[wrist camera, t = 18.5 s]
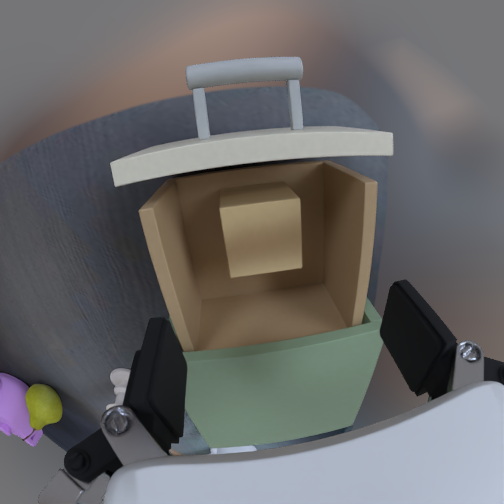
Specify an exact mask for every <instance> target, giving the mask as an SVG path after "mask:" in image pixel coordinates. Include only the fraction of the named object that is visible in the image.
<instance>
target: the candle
mask: <svg viewBox="0 0 504 504" xmlns="http://www.w3.org/2000/svg"><path fill="white" fill-rule="evenodd" d="M130 371H131V370H130V369H125V368H118V369H115V370H113V371H112V372H111V375H110V379H111V381H112V383H113V384H114V385H115V386H116V387H115V388H114V392H115V394H116V395H117V397H116V399H115V404H109V405H107V410H108V409H109V408H110V407H113V406H117V405H122V404H123V400H124V396H125V391H126V387H127V383H128V379H129V375H130Z"/></svg>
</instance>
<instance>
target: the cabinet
mask: <svg viewBox="0 0 504 504" xmlns="http://www.w3.org/2000/svg"><path fill="white" fill-rule="evenodd" d="M169 321H170V323H171V325H172V328H173V330H174V333H175V335H176V338H177V340H178V343H179V345H180V348H181V350H182V353H183V355H184V357H185V360H186V362H187V368H188V370H187V383H186V396H185V410H186V412H187V413H188V415H189V417H190V418H191V420H192V421H193V423H194V425H195V426H196V428H197V429H198V431H199V432H200V434H201V435H202V437H203V438H204V440H205V441H206V443H207V444H208V446H209V447H210V448H229V447H241V446H251V445H260V444H267V443H274V442H281V441H287V440H292V439H298V438H303V437H307V436H312V435H316V434H321V433H325V432H329V431H333V430H337V429H340V428H344V427H347V426H351V425H352V424H353V422H354V420H355V417H356V415H357V413H358V410H359V408H360V405H361V403H362V400H363V398H364V395H365V393H366V391H367V388H368V385H369V382H370V380H371V377H372V374H373V371H374V369H375V366H376V363H377V360H378V357H379V354H380V350H381V347H382V344H383V340H382V338H381V336H380V327H381V323H382V319H381V317H380V316H379V314H378V313H377V311H376V310H375V308H374V307H373V306H372V304H371V303H370V301H369V300H368V298H367V297H366V302H365V308H364V314H363V319H362V324H361V325H357V326H353V327H349V328H344V329H340V330H335V331H330V332H326V333H321V334H316V335H311V336H305V337H300V338H294V339H288V340H282V341H276V342H270V343H263V344H256V345H249V346H241V347H233V348H224V349H215V350H204V351H193V352H184V351H183V349H182V346H181V344H180V341H179V339H178V336H177V334H176V331H175V328H174V326H173V323H172V320H171V317H170V315H169Z"/></svg>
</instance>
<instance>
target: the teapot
mask: <svg viewBox="0 0 504 504" xmlns="http://www.w3.org/2000/svg"><path fill="white" fill-rule="evenodd" d="M28 389H29V387H28V386H27V385H26V384H25V383H24V382H22V381H21V380H19V379H17V378H15V377H13V376H11V375H9V374H6V373H0V430H1V431H2V432H4V433H5V434H7V435H9V436H10V435H11V433H13V434H15V435H17V436H19V437H22V438H23V439H24V438H26V437H27V436H29V435H30V434H31V433H32V431H33V428H32V427H31V426H30V423H29V411H28V408H27V405H26V401H25V395H26V393H27V391H28ZM42 434H43V432H42V429H41V430H39V431H36V430H35V431H34V432H33V434H32V435H31V436H30V437H29V438H27V439H26V440H25V441H26V442H27V443H28V444H29V445H31V446H34V447H35V445H36V444H37V442H38V440H39V439H40V437H41V436H42Z"/></svg>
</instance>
